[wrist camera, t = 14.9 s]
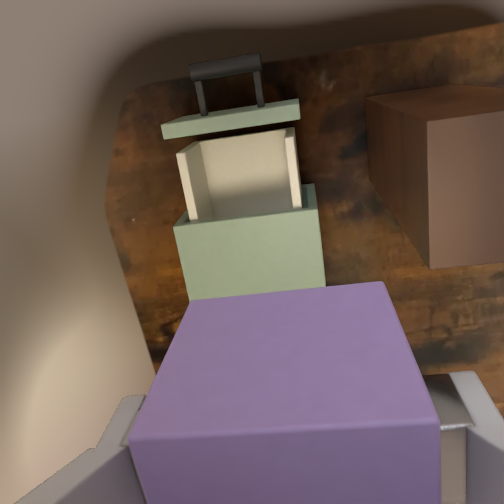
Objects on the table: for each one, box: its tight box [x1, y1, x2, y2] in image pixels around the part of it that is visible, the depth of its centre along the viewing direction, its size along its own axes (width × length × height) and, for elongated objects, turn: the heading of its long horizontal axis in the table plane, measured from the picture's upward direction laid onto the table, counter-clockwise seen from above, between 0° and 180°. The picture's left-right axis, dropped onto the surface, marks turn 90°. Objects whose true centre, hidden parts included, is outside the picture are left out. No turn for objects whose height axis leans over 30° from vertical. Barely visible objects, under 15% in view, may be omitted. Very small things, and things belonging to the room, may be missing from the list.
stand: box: [364, 84, 504, 270], centre depth 34 cm, size 8×8×23 cm
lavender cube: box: [128, 281, 442, 504], centre depth 9 cm, size 4×4×4 cm
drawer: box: [161, 53, 304, 222], centre depth 43 cm, size 18×11×8 cm, turn 9°
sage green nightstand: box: [173, 183, 326, 302], centre depth 46 cm, size 15×13×10 cm
